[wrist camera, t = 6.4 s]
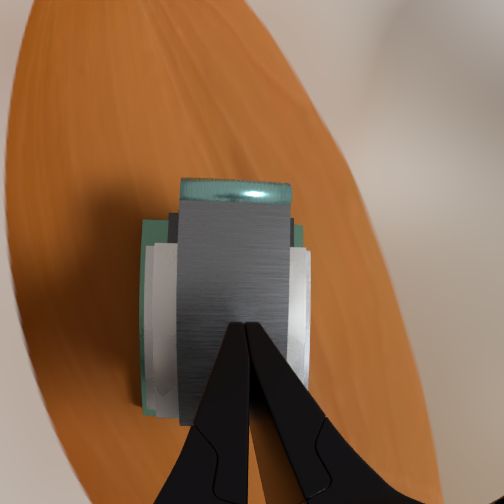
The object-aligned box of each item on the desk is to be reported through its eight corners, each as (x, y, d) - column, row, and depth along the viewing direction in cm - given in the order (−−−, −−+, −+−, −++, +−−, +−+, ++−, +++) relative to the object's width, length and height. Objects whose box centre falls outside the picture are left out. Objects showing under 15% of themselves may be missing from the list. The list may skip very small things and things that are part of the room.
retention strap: (284, 424, 11) (291, 180, 12) (179, 427, 10) (181, 174, 11) (278, 414, 12) (285, 186, 13) (180, 416, 11) (182, 181, 12)
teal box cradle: (294, 407, 18) (331, 448, 12) (145, 409, 17) (125, 454, 11) (297, 228, 19) (337, 202, 13) (145, 223, 18) (122, 192, 12)
